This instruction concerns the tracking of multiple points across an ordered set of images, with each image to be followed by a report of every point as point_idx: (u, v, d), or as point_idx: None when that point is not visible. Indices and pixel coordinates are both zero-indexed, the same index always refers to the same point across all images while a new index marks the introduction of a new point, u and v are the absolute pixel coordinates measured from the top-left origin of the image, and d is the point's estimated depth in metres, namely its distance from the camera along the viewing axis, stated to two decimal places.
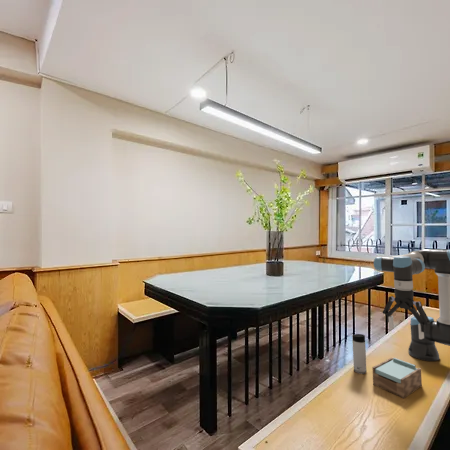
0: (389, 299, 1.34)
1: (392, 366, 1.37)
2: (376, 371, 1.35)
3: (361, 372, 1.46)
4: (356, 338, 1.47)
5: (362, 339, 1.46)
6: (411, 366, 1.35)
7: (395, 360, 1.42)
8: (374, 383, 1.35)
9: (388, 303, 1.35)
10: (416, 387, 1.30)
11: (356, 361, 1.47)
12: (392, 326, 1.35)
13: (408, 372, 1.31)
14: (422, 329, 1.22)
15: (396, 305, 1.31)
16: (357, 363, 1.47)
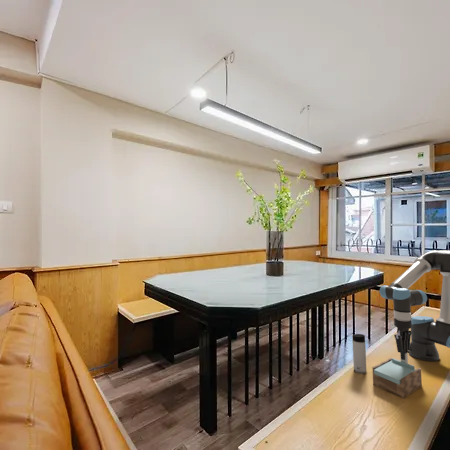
0: None
1: (391, 367, 1.36)
2: (375, 372, 1.34)
3: (361, 372, 1.46)
4: (356, 338, 1.47)
5: (362, 339, 1.46)
6: (410, 367, 1.35)
7: (394, 361, 1.41)
8: (374, 383, 1.35)
9: None
10: (416, 387, 1.30)
11: (356, 361, 1.47)
12: None
13: (407, 373, 1.30)
14: None
15: None
16: (357, 363, 1.47)
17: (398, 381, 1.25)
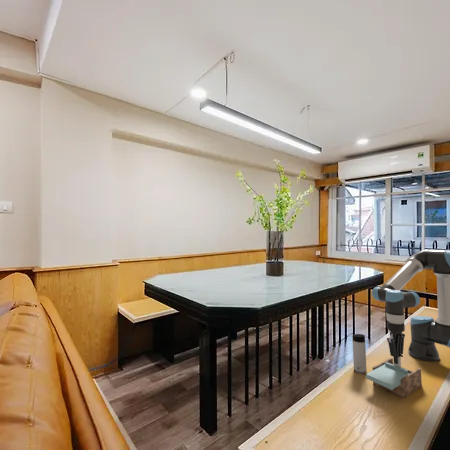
0: None
1: (383, 371, 1.33)
2: (367, 376, 1.30)
3: (361, 372, 1.46)
4: (356, 338, 1.47)
5: (362, 339, 1.46)
6: (403, 371, 1.31)
7: (387, 365, 1.37)
8: (374, 383, 1.35)
9: None
10: (416, 387, 1.30)
11: (356, 361, 1.47)
12: None
13: (400, 377, 1.27)
14: None
15: None
16: (357, 363, 1.47)
17: (390, 386, 1.21)
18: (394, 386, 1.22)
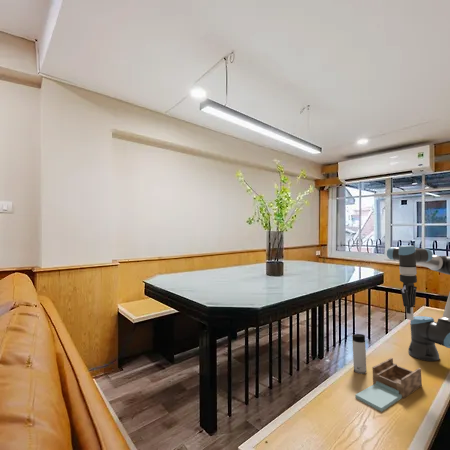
0: None
1: (374, 391, 1.27)
2: (356, 397, 1.25)
3: (361, 372, 1.46)
4: (356, 338, 1.47)
5: (362, 339, 1.46)
6: (394, 392, 1.25)
7: (378, 384, 1.32)
8: (374, 383, 1.35)
9: None
10: (416, 387, 1.30)
11: (356, 361, 1.47)
12: None
13: (390, 399, 1.21)
14: None
15: None
16: (357, 363, 1.47)
17: (380, 409, 1.16)
18: (384, 409, 1.17)
